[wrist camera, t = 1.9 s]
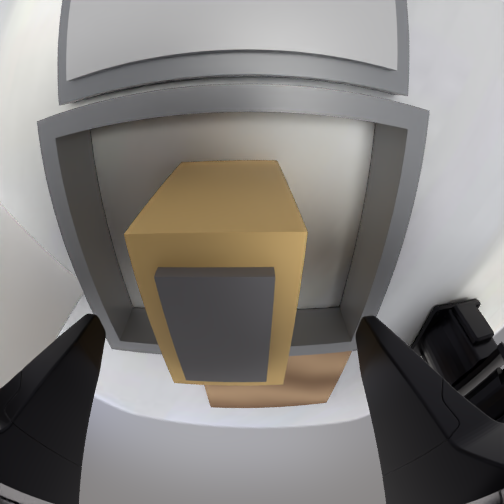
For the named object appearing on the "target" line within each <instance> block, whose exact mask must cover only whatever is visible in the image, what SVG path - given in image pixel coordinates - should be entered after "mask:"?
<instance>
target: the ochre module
mask: <svg viewBox="0 0 504 504" xmlns="http://www.w3.org/2000/svg"><path fill="white" fill-rule="evenodd" d="M307 234H308V232H307V229H306V227H305V224H304V222H303V219H302V217H301V214H300V212H299V210H298V207H297V205H296V202H295V200H294V198H293V195H292V193H291V191H290V188H289V186H288V184H287V182H286V179H285V177H284V175H283V173H282V170H281V168H280V166H279V164H278V161H276V160H226V161H198V162H181V163H180V164H179V166H178V167H177V168H176V169H175V170H174V171H173V172H172V174H171V175H170V176H169V177H168V178H167V180H166V181H165V182H164V183H163V184H162V186H161V187H160V188H159V189H158V190H157V192H156V193H155V194H154V195H153V197H152V198H151V199H150V200H149V202H148V203H147V204H146V205H145V207H144V208H143V209H142V211H141V212H140V213H139V214H138V216H137V217H136V218H135V220H134V221H133V222H132V224H131V225H130V226H129V228H128V229H127V231H126V232H125V233H124V237H125V241H126V245H127V249H128V253H129V257H130V260H131V264H132V268H133V271H134V275H135V278H136V281H137V285H138V288H139V291H140V294H141V297H142V300H143V303H144V306H145V309H146V312H147V315H148V318H149V321H150V324H151V326H152V329H153V332H154V335H155V337H156V340H157V342H158V345H159V348H160V350H161V353H162V355H163V358H164V360H165V362H166V365H167V367H168V370H169V372H170V374H171V376H172V379H173V381H174V383H184V384H199V385H228V386H254V385H282V384H283V382H284V377H285V372H286V367H287V362H288V357H289V352H290V346H291V341H292V335H293V329H294V323H295V317H296V311H297V305H298V299H299V292H300V286H301V279H302V272H303V265H304V257H305V250H306V242H307Z"/></svg>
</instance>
